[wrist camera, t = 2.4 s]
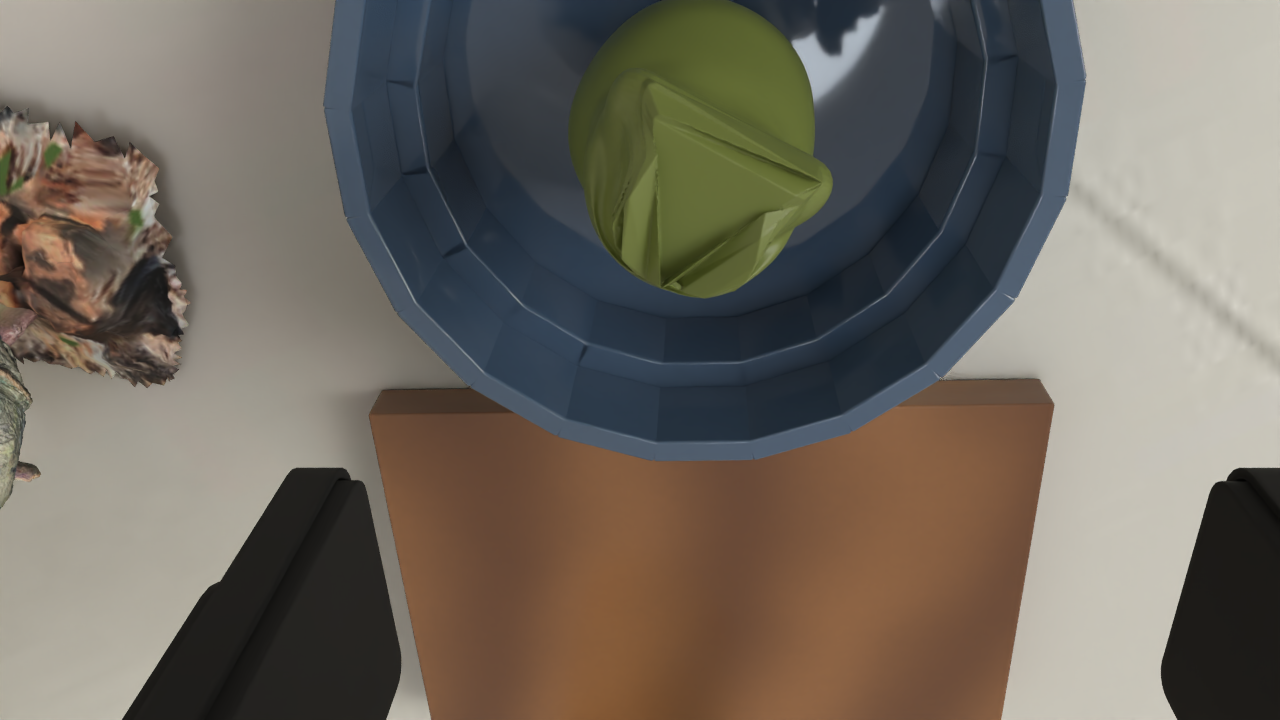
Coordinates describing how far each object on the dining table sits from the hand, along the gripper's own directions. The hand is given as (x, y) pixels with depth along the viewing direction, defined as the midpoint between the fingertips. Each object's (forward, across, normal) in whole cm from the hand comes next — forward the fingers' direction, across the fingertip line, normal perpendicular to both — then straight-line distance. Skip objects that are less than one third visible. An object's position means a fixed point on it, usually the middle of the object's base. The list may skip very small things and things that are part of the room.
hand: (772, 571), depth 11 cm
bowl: (+18, +1, -1) cm, 18 cm away
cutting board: (+18, +1, +14) cm, 23 cm away
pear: (+18, +1, -1) cm, 18 cm away
